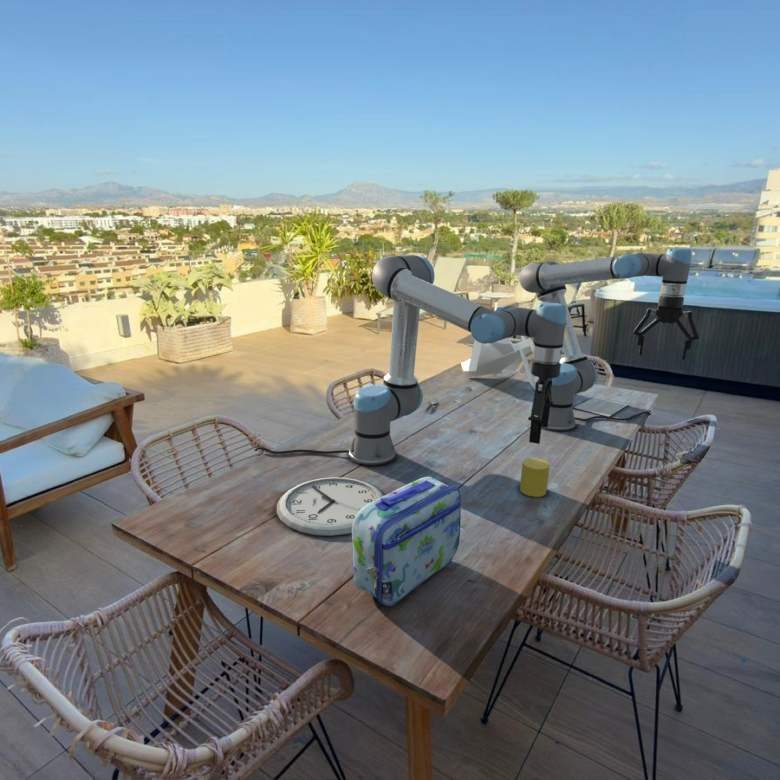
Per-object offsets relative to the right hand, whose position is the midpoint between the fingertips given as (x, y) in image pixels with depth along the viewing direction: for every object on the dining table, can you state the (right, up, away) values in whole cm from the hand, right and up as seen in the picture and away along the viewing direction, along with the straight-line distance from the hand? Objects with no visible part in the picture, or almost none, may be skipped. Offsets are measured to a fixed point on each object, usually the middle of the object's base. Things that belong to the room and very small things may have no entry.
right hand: (661, 356), depth 184 cm
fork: (-78, -19, +39) cm, 89 cm away
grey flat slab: (-4, -19, +43) cm, 47 cm away
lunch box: (-92, -53, -70) cm, 127 cm away
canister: (-54, -41, -31) cm, 74 cm away
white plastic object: (-41, -9, +74) cm, 85 cm away
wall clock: (-111, -43, -41) cm, 126 cm away
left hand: (-53, -24, -36) cm, 69 cm away
